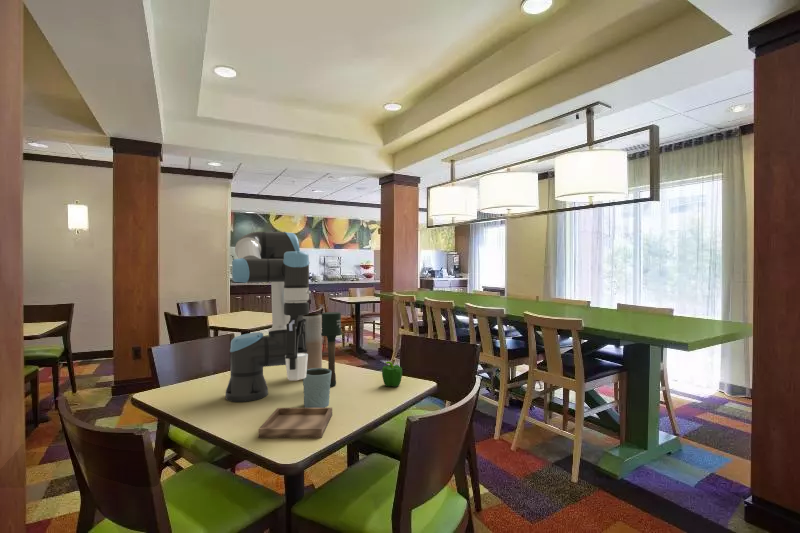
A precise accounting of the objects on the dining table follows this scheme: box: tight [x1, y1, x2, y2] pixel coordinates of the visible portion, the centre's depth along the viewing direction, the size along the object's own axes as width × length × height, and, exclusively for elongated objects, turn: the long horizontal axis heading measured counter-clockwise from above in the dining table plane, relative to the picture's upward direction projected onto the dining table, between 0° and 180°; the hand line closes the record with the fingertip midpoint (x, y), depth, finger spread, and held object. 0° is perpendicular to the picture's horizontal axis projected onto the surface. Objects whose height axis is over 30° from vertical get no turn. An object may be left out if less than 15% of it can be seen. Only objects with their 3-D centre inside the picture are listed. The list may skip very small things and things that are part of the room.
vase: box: [303, 312, 323, 369], centre depth 183 cm, size 10×10×28 cm
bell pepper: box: [381, 360, 403, 388], centre depth 168 cm, size 8×8×10 cm
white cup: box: [285, 353, 308, 381], centre depth 125 cm, size 7×7×7 cm
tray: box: [257, 407, 333, 439], centre depth 125 cm, size 18×18×2 cm
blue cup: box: [302, 367, 332, 408], centre depth 144 cm, size 10×10×12 cm
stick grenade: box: [321, 311, 343, 388], centre depth 168 cm, size 8×9×30 cm
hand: (296, 376), depth 125 cm, fingers closed on white cup, 7 cm apart
